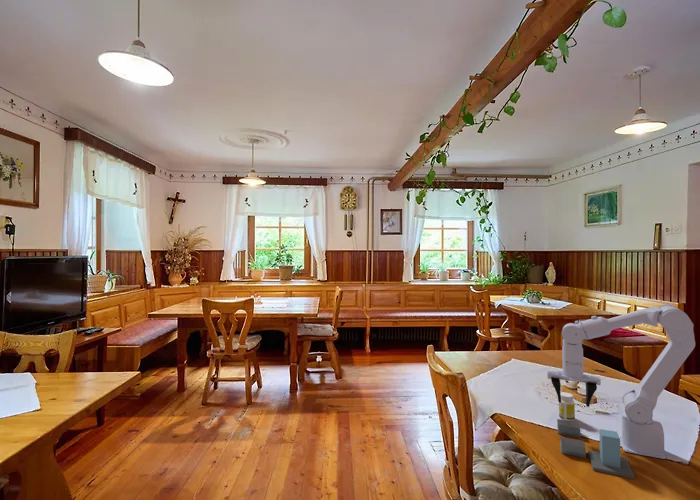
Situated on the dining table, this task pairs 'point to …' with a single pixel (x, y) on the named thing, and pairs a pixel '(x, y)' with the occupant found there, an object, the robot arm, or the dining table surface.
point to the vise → (568, 444)
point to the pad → (598, 466)
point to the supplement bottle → (567, 407)
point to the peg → (609, 448)
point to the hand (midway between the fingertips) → (573, 403)
